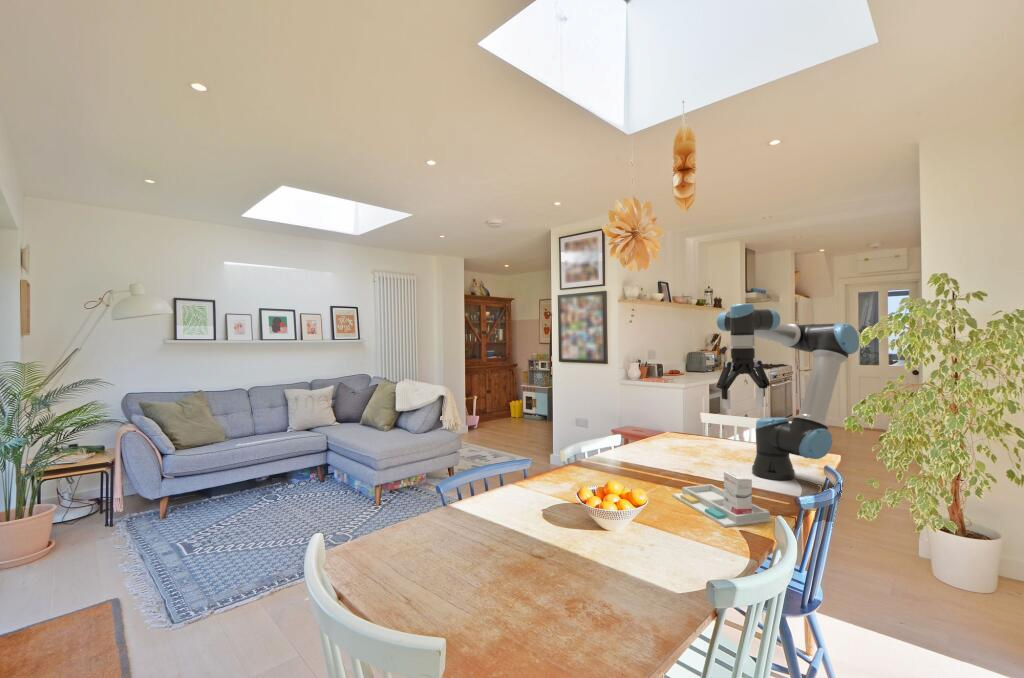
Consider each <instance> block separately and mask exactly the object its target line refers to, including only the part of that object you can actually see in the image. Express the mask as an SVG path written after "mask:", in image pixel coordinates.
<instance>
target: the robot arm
mask: <svg viewBox="0 0 1024 678" xmlns="http://www.w3.org/2000/svg"><path fill="white" fill-rule="evenodd" d="M716 325H717V327H718V328H717V329H719V330H721V331H723V332H730V347H732V348H731V349H730V357H731V361H723V368H722V371H721V373H720V375H719V377H718V381H717V383H716V388H717V389H719V390H721V399H722V402H723V409H726V410H731V409H732V407H731V406H732V405H731V402H732V401H731V390H729V389H730V387H731V386H732V384H733V383H734V382H735V381H736V378H737V377H738V376H740V375H746V374H747V375H749V377H750V378H751V379H752V381H753V382H754V383H755V385H756V386H757V387H756V388H755V392H756V393H755V395H756V397H755V399H756V400H755V402H756V404H755V405H756V407H761V408H763V407H765V401H764V400H765V399H764V398H765V396H766V389H767V388H768V387H769V386H771V383H770V381H769V378H768V376H767V373H766V372H765V370H764V367H763V362H762V360H756V359H755V357H756V356H755V355H756V353H755V351H756V350H755V348H754V347H755V337H756V338H761V339H765V340H768V341H773V342H777V343H780V344H781V345H782V346H784V347H787V348H790V349H794V350H798V351H802V352H807V353H811V354H812V356H813V357H814V359H813V364H812V366H811V367H812V368H811V370H810V375H809V378H808V382H807V385H806V388H805V392H804V395H803V399H802V403H801V405H800V409H799V412H798V414H796V415H795V416H793V417H792V420H791V422H790V420H789V418H788V417H764V418H758V419H757V420H756V422H755V443H756V444H755V445H756V449H755V450H756V454H755V458H754V461H753V465H752V467H751V473H752V474H753V475H755V477H758V478H762V479H766V480H767V479H768V480H773V481H789V480H793V479H795V478H796V471H795V469H794V467H793V463H792V461H791V458H790V454H791V455H794V456H799V457H802V458H805V459H811V460H820V459H823V457H826V456H827V455H828V454H829V452H830V450H831V448H832V445H833V439H832V438H833V436H832V433H831V432H830V430H829V426H828V424H827V423H826V418H827V415H828V412H829V411H828V410H829V408H830V405H831V401H832V396H833V394H834V390H835V387H836V383H837V379H838V375H839V373H840V369H841V364H843V363H845V362H846V361H848V358H849V355H852V354H856V352H858V351H859V350H858V349H859V348H860V337H859V334H858V331H857V330H856V328H855V327H854V326H853V325H851V324H849V323H843V322H842V323H841V322H836V323H816V324H815V323H811V324H810V323H808V324H795V323H787V324H785V323H781V316H780V314H779V312H778V311H777V310H774V309H769V308H767V309H766V308H765V309H764V308H763V309H755V307H754V303H735V304H731V306H730V309H729V311H724V312H721V313H719V314H718V316H717V317H716ZM754 359H755V360H754Z"/></svg>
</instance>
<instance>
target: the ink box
mask: <svg viewBox="0 0 1024 678" xmlns="http://www.w3.org/2000/svg"><path fill="white" fill-rule="evenodd" d="M752 487H753V480H752V479H751V478H749V477H747V476H746V475H744V474H742V473H740V472H738V471H725V472H723V490H724V508H725V509H727V510H729V511H730V512H732V513H734V514H736V515H740V514H748V513H752V504H753V503H752V499H753V497H752V495H753V490H752V489H753V488H752Z"/></svg>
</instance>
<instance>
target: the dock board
mask: <svg viewBox="0 0 1024 678" xmlns="http://www.w3.org/2000/svg"><path fill="white" fill-rule="evenodd" d="M672 498H675V499H676V500H678V501H680V502H681V503H683V504H685V505H686V506H688V507H690V508H691V509H694V510H695V511H697V512H698V513H700V514H702V515H703V516H705V517H706V518H708V519H711V520H712V521H714V522H715V523H717V524H719V525H720V526H722V527H724V528H730V527H736V526H737V527H738V526H743V525H745V526H746V525H751V524H757V523H766V522H770V521H771V512H770V511H769V510H767V509H765V508H762V507H760V506H758V505H756V504H754V503H752V513H748V514H740V515H736V514H734V513H732V512H730V511H729V510H727V509H725V508H724V488H723V489H722V488H720V487H718V486H716V485H714V484H712V483H708V484H699V485H693V486H682V487H681V492H680V493H672Z"/></svg>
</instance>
